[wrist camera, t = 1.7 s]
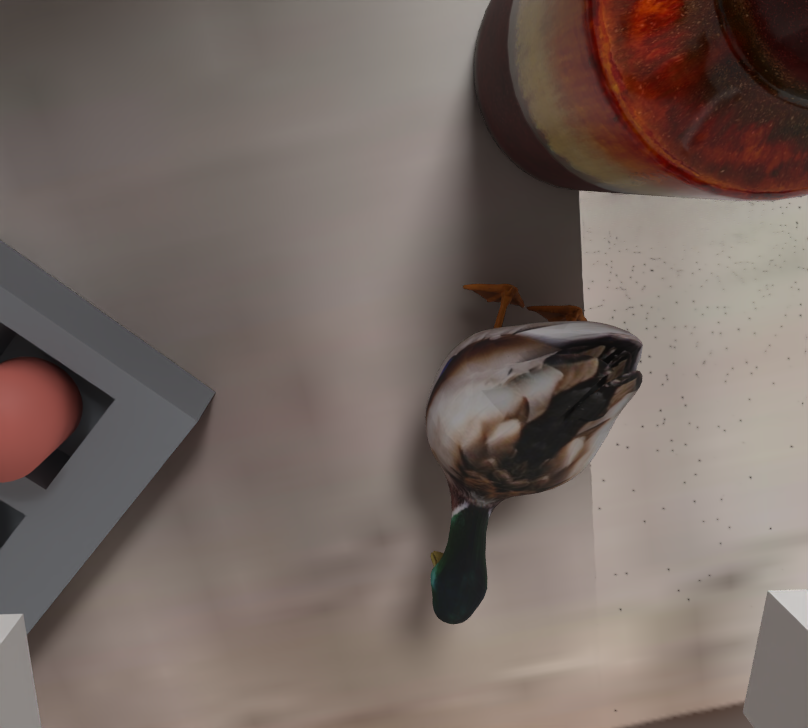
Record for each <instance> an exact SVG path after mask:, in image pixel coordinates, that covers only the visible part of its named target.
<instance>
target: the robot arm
mask: <svg viewBox="0 0 808 728" xmlns="http://www.w3.org/2000/svg"><path fill="white" fill-rule="evenodd" d="M743 713H744V715H745V716H746V717H747V719H748V720H749V721H750V723H751V724H752V725H753V727H754V728H808V590H807V589H804V590H772V591H768V592H767V596H766V601H765V606H764V611H763V616H762V621H761V626H760V631H759V636H758V640H757V645H756V650H755V655H754V660H753V665H752V670H751V675H750V680H749V684H748V689H747V694H746V699H745V704H744V709H743ZM0 728H42V727H41V721H40V715H39V709H38V703H37V696H36V690H35V684H34V678H33V671H32V665H31V659H30V653H29V647H28V640H27V634H26V628H25V622H24V615H23V614H0Z"/></svg>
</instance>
